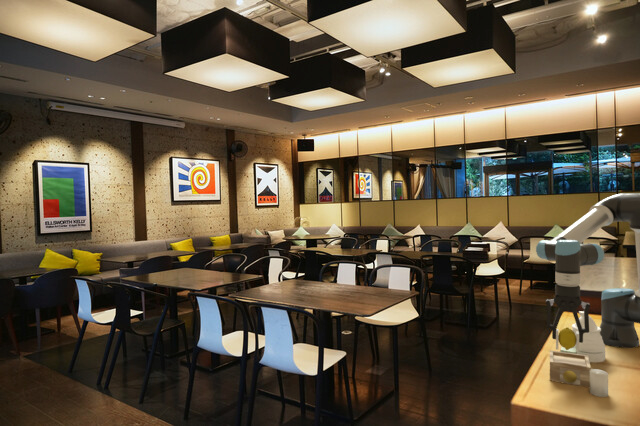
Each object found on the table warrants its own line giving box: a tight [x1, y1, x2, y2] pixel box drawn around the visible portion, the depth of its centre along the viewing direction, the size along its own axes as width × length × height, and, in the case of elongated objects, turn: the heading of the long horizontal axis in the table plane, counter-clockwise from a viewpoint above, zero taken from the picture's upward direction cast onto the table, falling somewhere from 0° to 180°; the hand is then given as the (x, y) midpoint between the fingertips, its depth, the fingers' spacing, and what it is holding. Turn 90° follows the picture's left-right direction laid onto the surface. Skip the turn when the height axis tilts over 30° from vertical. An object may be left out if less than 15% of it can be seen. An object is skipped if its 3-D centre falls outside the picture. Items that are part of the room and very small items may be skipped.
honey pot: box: [571, 310, 606, 363], centre depth 169 cm, size 13×13×18 cm
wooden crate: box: [549, 350, 592, 388], centre depth 150 cm, size 12×12×7 cm
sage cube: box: [559, 346, 577, 354], centre depth 164 cm, size 5×5×5 cm
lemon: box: [558, 327, 576, 350], centre depth 150 cm, size 6×6×8 cm
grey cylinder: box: [589, 368, 609, 398], centre depth 138 cm, size 5×5×7 cm
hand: (567, 349), depth 149 cm, fingers closed on lemon, 5 cm apart
